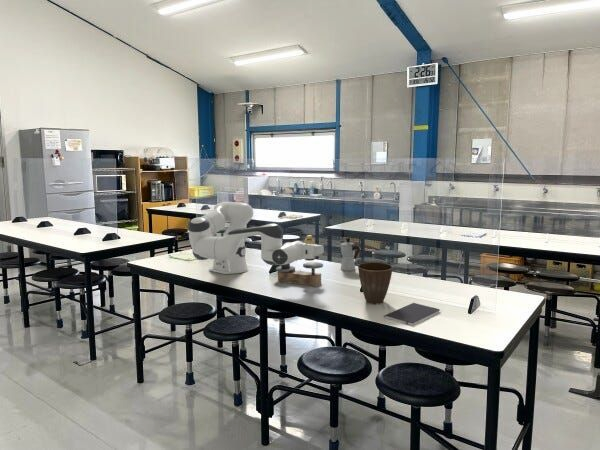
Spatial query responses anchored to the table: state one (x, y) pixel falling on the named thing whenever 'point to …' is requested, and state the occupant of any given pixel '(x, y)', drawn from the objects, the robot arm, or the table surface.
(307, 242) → the brass weight
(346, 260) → the coffee maker
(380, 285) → the plant pot
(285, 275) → the balance
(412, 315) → the notebook
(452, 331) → the table surface
